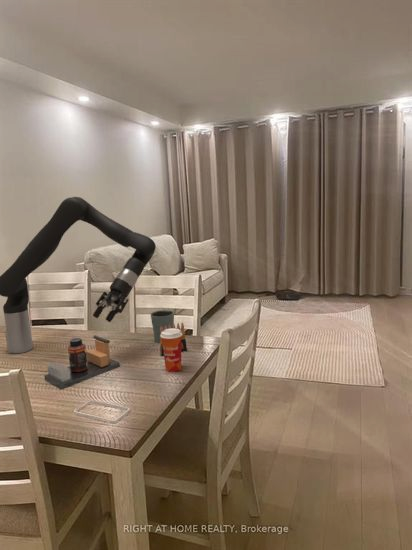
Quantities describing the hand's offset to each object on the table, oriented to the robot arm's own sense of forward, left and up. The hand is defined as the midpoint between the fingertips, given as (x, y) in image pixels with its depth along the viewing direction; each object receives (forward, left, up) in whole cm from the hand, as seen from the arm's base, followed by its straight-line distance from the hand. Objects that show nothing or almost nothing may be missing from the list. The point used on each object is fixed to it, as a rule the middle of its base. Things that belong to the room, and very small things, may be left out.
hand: (101, 318), depth 147 cm
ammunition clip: (+26, +3, -18) cm, 32 cm away
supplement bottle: (-9, -6, -16) cm, 20 cm away
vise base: (-8, -5, -18) cm, 20 cm away
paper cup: (+24, -12, -18) cm, 32 cm away
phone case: (0, -36, -18) cm, 40 cm away
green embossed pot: (+24, +20, -18) cm, 36 cm away
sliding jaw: (-2, -1, -16) cm, 16 cm away
